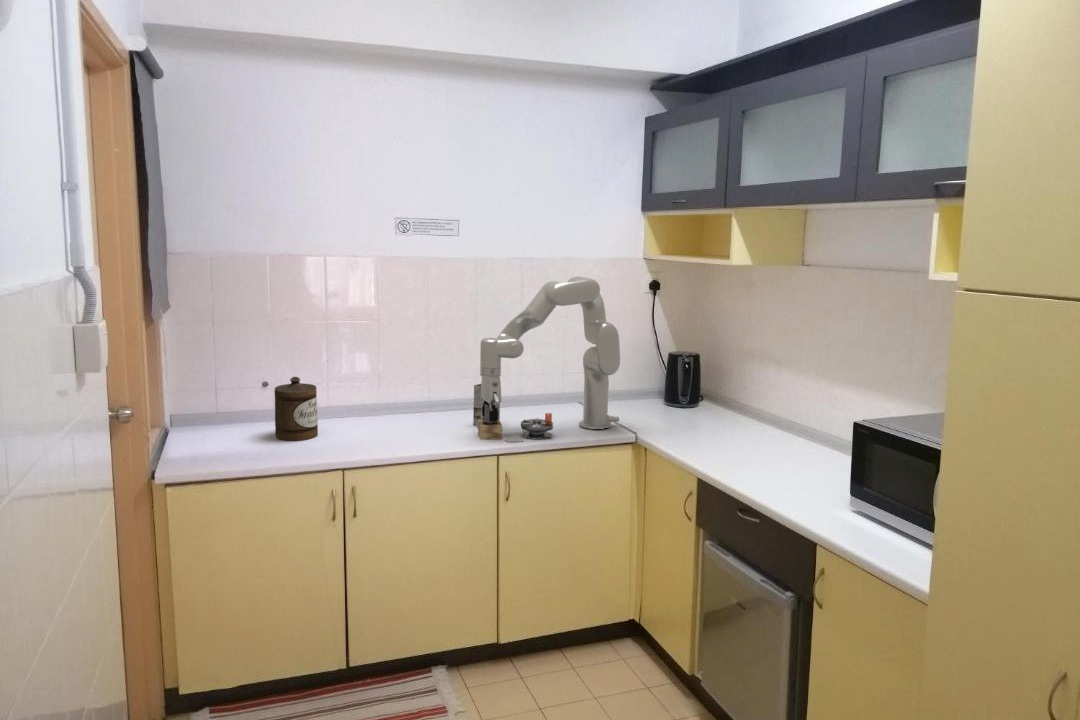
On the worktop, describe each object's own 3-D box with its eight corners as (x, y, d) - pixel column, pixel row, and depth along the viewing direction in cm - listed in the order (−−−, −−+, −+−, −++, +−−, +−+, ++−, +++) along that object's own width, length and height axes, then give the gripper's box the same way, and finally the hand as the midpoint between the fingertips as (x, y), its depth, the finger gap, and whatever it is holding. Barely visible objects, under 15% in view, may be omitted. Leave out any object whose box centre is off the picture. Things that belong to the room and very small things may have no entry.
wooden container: (305, 442, 279) (303, 382, 275) (267, 439, 282) (265, 379, 278) (325, 432, 294) (323, 374, 290) (288, 429, 296) (286, 371, 293)
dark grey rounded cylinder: (494, 434, 295) (494, 403, 293) (495, 437, 291) (496, 405, 289) (483, 434, 294) (484, 403, 292) (485, 437, 290) (485, 406, 288)
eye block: (498, 432, 297) (499, 419, 297) (502, 438, 290) (502, 425, 289) (477, 433, 296) (478, 420, 295) (480, 439, 288) (480, 425, 287)
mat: (520, 437, 292) (520, 436, 291) (523, 441, 286) (523, 440, 286) (504, 438, 290) (504, 436, 290) (507, 442, 285) (507, 441, 285)
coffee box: (485, 427, 304) (485, 387, 301) (472, 425, 308) (473, 384, 305) (500, 423, 311) (500, 383, 308) (488, 420, 315) (488, 381, 312)
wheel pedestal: (545, 431, 300) (546, 425, 300) (550, 438, 291) (551, 431, 291) (522, 432, 298) (522, 426, 298) (527, 439, 290) (527, 432, 289)
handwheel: (514, 428, 292) (514, 412, 291) (531, 422, 302) (532, 406, 301) (542, 433, 286) (542, 417, 285) (559, 426, 296) (559, 411, 295)
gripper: (508, 375, 282) (507, 423, 285) (492, 366, 298) (491, 412, 301) (488, 376, 279) (488, 425, 282) (473, 367, 295) (473, 413, 298)
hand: (490, 418), depth 292 cm, fingers open, 7 cm apart
